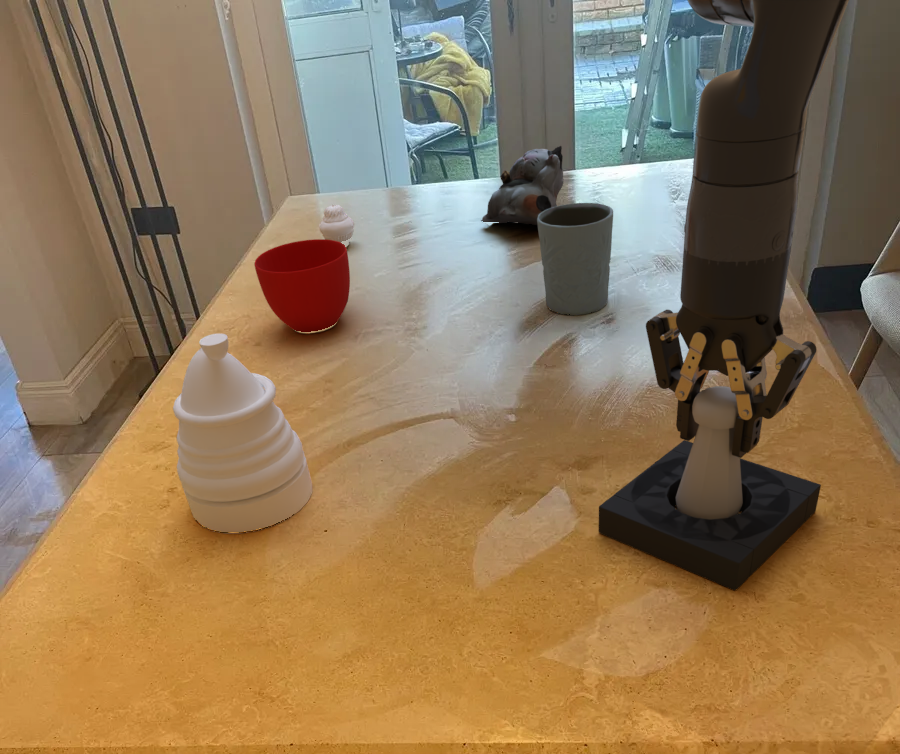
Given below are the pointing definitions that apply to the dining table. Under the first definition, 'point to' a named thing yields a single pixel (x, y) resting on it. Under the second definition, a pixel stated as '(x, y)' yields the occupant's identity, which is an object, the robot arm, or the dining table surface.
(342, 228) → the muffin
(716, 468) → the cream tapered peg
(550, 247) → the drinking glass
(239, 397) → the honey pot
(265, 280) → the ceramic cup
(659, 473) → the base pad
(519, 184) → the lucky cat figurine
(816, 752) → the dining table surface
